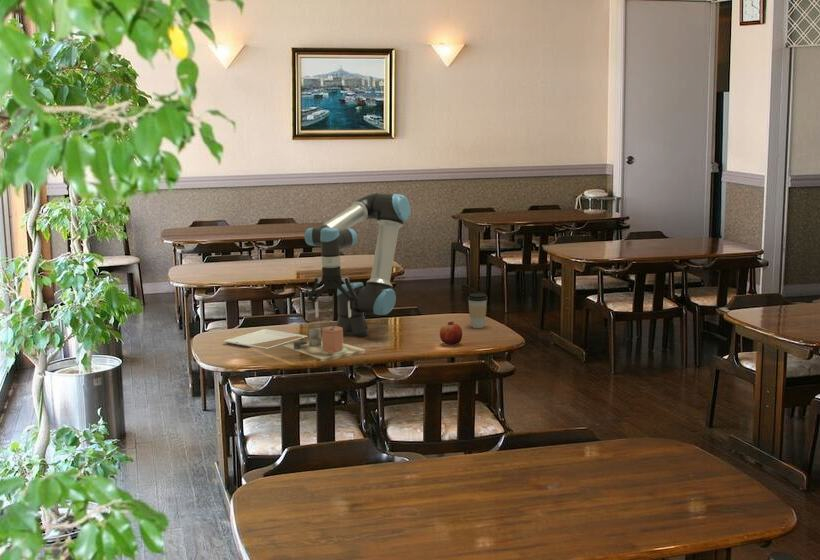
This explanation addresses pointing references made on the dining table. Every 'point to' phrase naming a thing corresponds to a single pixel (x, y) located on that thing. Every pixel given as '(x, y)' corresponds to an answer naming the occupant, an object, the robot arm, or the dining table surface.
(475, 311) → the coffee cup
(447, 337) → the fruit
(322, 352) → the coaster
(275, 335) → the plate
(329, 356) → the lock station
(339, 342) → the pink cylinder
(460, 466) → the dining table surface
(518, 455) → the dining table surface
